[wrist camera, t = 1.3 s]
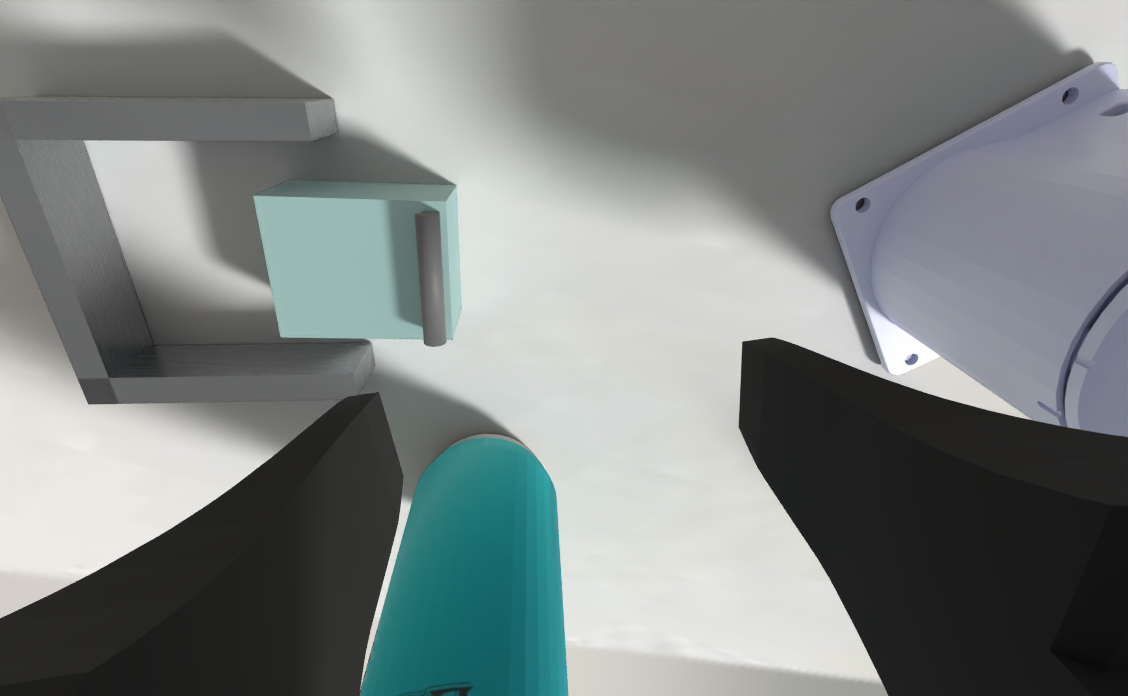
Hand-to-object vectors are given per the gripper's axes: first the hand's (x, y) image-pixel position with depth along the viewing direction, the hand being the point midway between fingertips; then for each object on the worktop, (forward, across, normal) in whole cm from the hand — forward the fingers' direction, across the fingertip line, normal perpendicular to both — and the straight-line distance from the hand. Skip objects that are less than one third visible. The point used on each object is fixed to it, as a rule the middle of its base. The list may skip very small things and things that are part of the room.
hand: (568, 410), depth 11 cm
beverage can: (+11, +3, +9) cm, 15 cm away
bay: (+11, +10, -2) cm, 15 cm away
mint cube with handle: (+11, +6, -1) cm, 12 cm away
